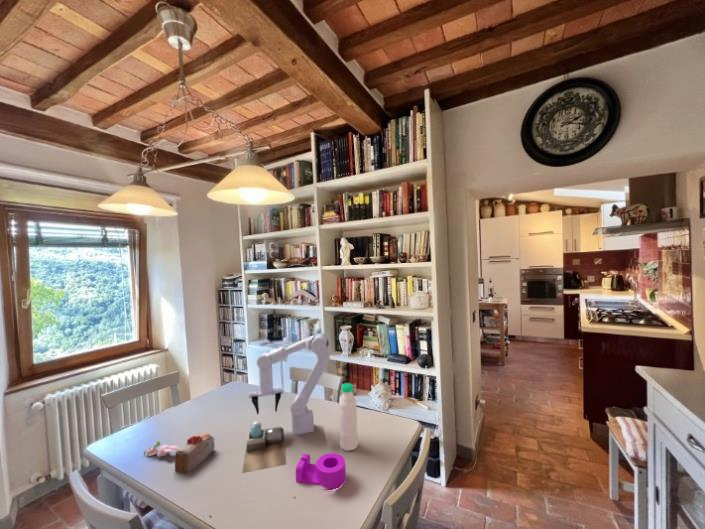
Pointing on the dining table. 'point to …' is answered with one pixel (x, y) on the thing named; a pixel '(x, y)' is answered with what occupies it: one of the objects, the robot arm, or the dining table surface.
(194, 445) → the food item
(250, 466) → the mounting board
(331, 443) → the dining table surface
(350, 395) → the water bottle
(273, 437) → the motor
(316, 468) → the tape dispenser
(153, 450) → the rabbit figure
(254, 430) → the blue bottle white cap
